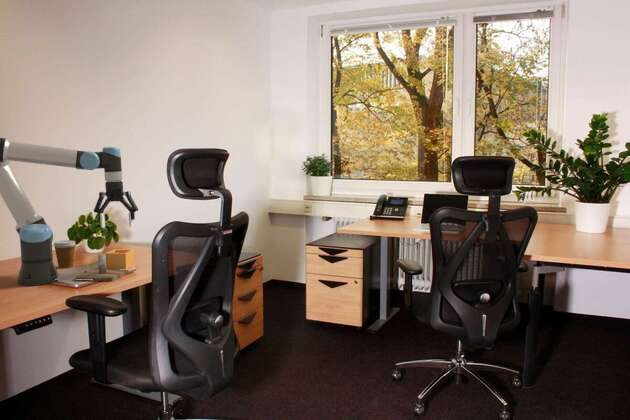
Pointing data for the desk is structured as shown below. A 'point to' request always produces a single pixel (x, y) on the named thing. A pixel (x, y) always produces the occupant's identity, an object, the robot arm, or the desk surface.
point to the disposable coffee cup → (65, 253)
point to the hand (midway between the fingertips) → (117, 227)
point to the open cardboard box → (120, 259)
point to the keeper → (103, 272)
